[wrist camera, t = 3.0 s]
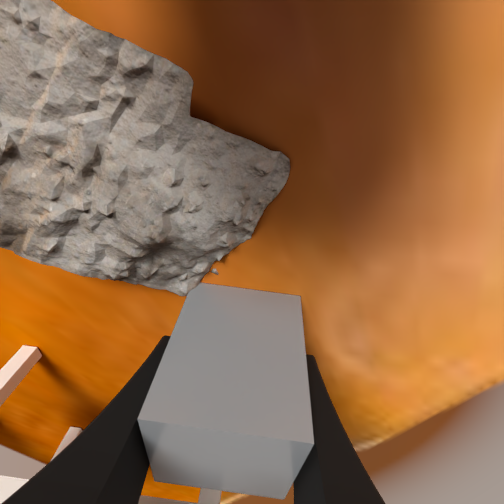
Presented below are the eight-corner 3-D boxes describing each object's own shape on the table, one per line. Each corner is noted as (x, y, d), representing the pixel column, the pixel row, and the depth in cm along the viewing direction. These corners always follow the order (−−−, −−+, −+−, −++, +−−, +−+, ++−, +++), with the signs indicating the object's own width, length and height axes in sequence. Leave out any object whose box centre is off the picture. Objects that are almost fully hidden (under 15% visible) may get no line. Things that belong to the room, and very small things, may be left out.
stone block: (194, 348, 14) (154, 481, 10) (193, 281, 12) (137, 419, 7) (282, 360, 14) (284, 499, 10) (300, 296, 12) (313, 443, 7)
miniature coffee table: (73, 431, 21) (3, 554, 16) (23, 345, 15) (-117, 496, 10) (226, 452, 21) (208, 584, 16) (236, 374, 15) (213, 543, 10)
